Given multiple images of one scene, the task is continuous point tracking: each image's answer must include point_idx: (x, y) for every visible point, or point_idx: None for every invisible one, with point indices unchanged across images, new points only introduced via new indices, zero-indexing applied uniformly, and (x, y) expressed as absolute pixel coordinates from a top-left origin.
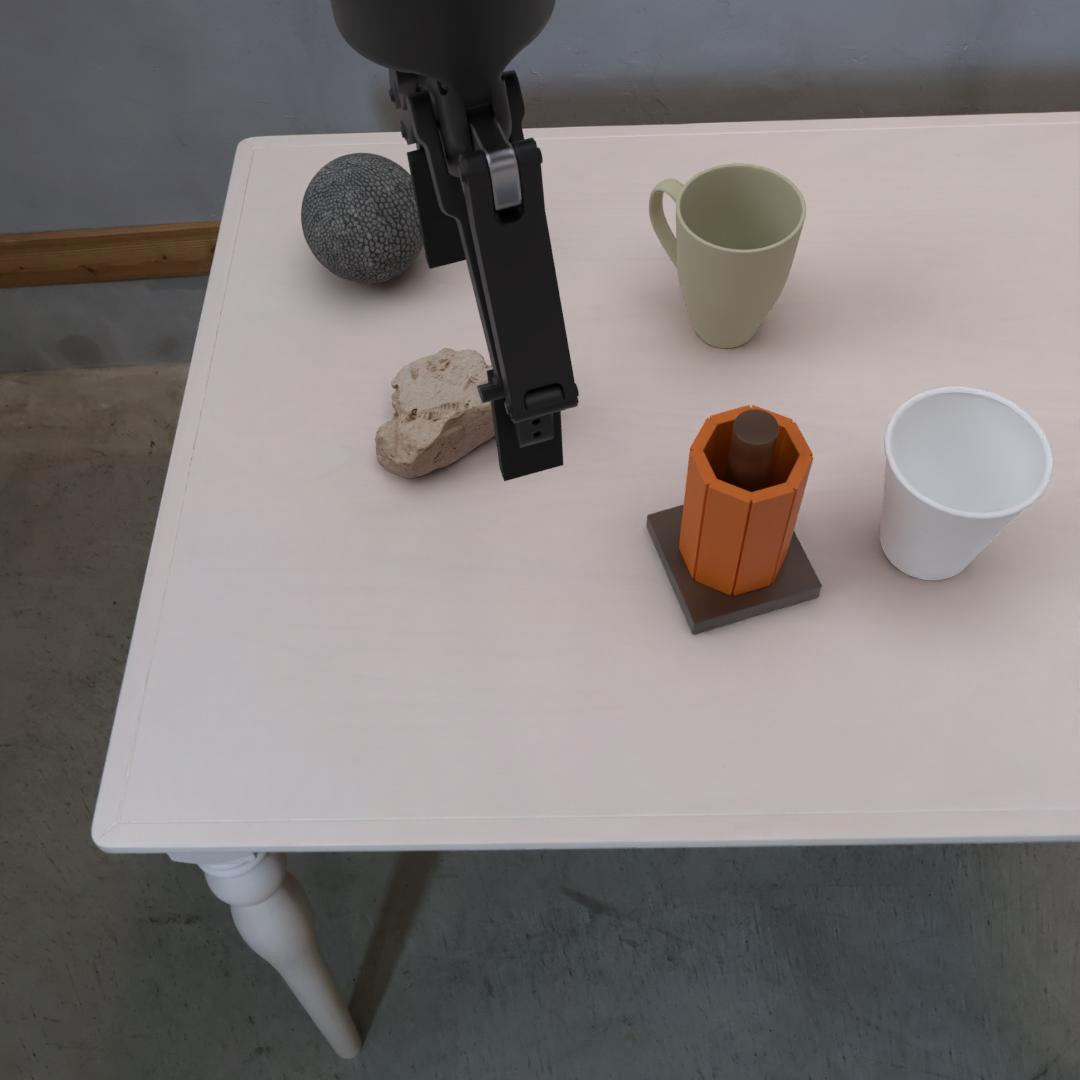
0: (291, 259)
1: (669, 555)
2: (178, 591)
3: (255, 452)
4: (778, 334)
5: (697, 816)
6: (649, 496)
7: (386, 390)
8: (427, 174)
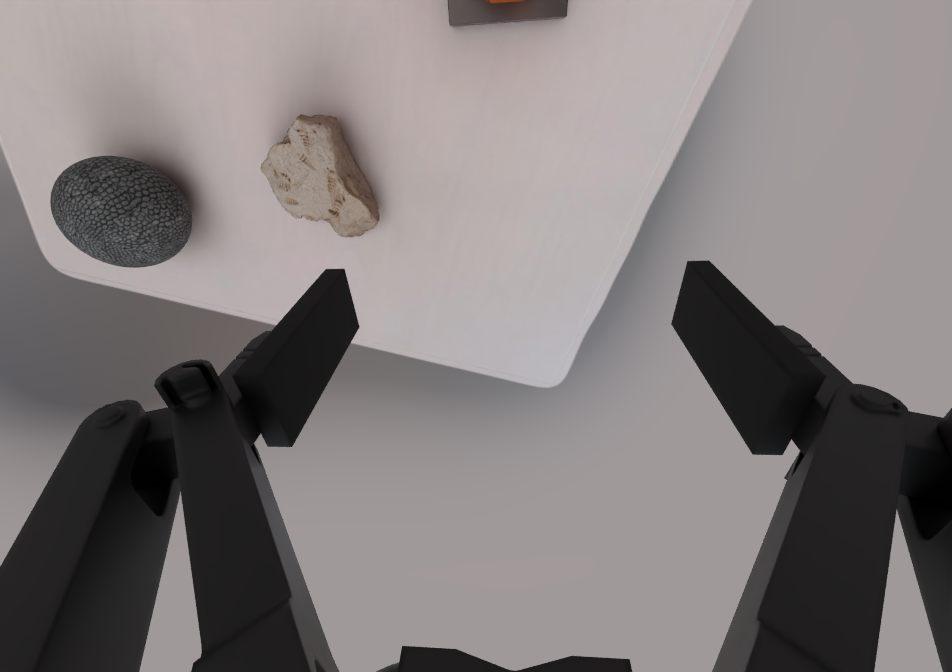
0: None
1: (495, 16)
2: (432, 350)
3: None
4: None
5: (703, 71)
6: (421, 11)
7: None
8: (298, 410)
